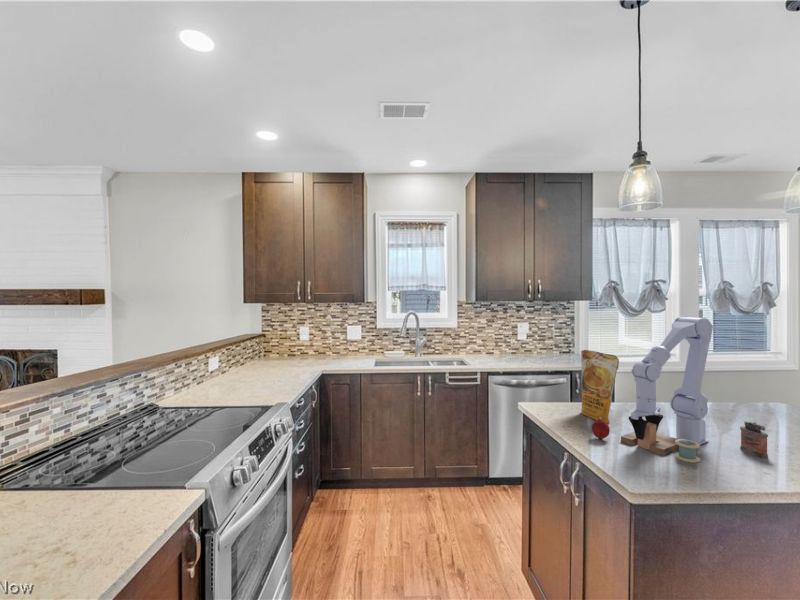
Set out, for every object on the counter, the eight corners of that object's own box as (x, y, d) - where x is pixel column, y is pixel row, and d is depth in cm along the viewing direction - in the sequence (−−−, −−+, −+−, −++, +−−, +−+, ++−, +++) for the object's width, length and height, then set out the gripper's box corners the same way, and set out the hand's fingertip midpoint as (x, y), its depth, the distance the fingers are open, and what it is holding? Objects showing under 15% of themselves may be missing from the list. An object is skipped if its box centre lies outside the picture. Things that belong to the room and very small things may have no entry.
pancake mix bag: (587, 410, 175) (587, 349, 174) (620, 424, 156) (620, 355, 156) (574, 411, 173) (574, 349, 173) (606, 425, 155) (606, 355, 154)
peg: (644, 443, 135) (644, 421, 135) (656, 447, 132) (656, 424, 132) (637, 446, 133) (637, 423, 133) (650, 450, 130) (649, 426, 130)
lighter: (737, 448, 130) (737, 419, 130) (746, 448, 131) (746, 418, 131) (761, 458, 122) (761, 427, 122) (771, 458, 123) (771, 426, 123)
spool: (681, 452, 127) (681, 437, 127) (704, 459, 122) (703, 444, 122) (671, 457, 124) (670, 441, 124) (694, 464, 119) (694, 448, 119)
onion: (612, 443, 136) (611, 420, 136) (594, 441, 138) (594, 419, 137) (606, 437, 142) (606, 415, 142) (589, 436, 143) (589, 414, 143)
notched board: (642, 434, 144) (642, 429, 144) (685, 446, 132) (685, 441, 132) (620, 441, 137) (620, 436, 137) (663, 455, 125) (663, 449, 125)
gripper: (646, 403, 126) (646, 444, 126) (669, 397, 133) (669, 436, 133) (624, 398, 132) (624, 437, 132) (648, 392, 139) (648, 430, 139)
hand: (646, 436), depth 133 cm, fingers open, 7 cm apart
